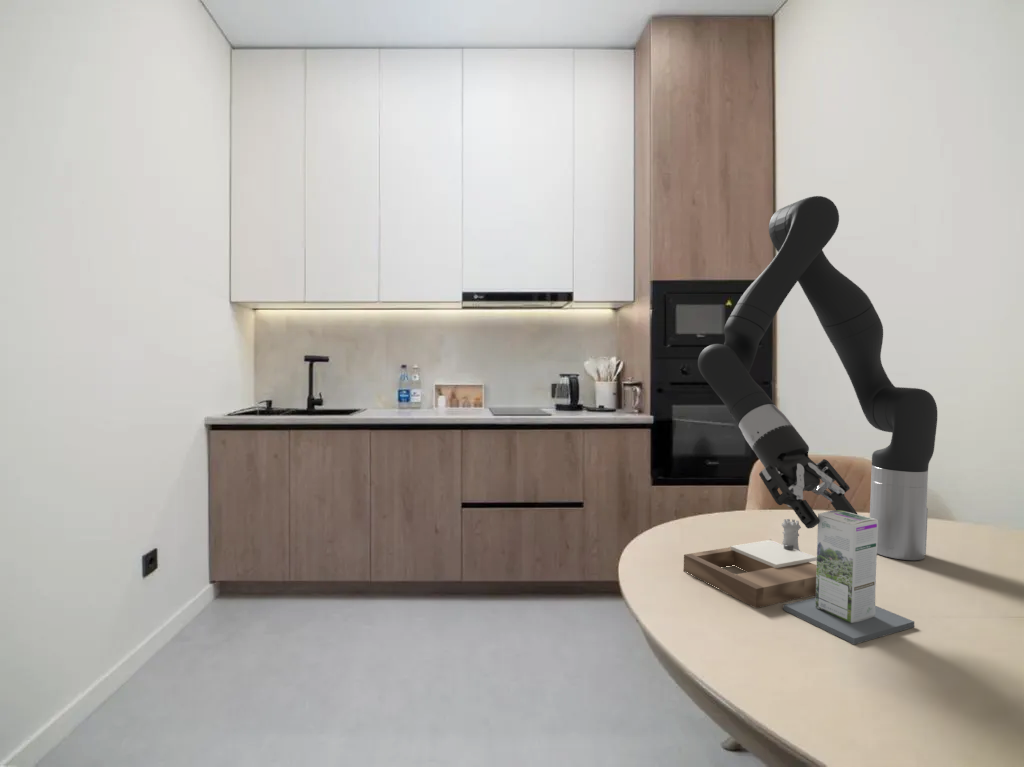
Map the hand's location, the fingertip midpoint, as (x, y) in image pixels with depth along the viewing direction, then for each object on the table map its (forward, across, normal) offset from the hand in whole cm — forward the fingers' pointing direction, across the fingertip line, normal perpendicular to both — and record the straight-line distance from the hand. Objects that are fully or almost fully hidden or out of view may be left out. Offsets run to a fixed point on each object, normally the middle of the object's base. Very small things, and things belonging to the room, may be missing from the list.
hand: (833, 522), depth 82 cm
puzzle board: (0, -1, +19) cm, 19 cm away
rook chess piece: (-2, +12, +22) cm, 25 cm away
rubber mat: (+11, 0, +8) cm, 14 cm away
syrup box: (+11, 0, +7) cm, 13 cm away
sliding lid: (-3, +5, +18) cm, 19 cm away
